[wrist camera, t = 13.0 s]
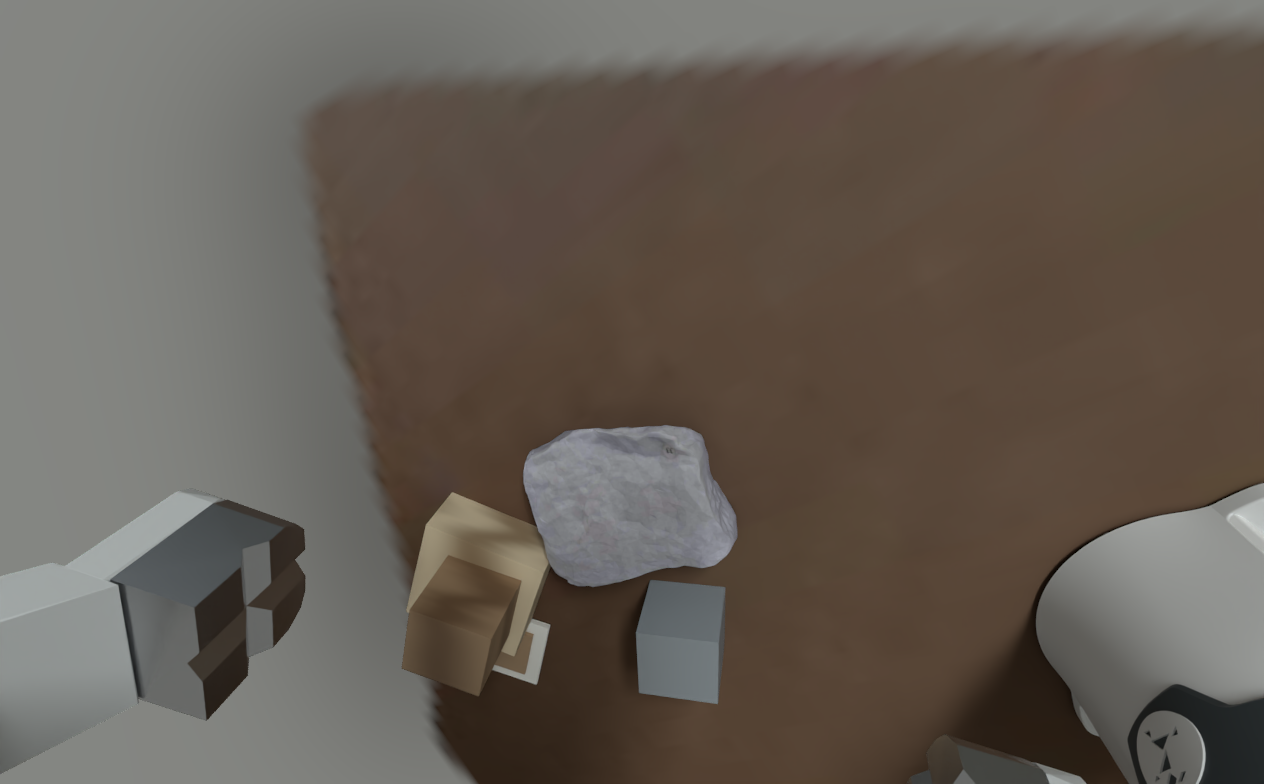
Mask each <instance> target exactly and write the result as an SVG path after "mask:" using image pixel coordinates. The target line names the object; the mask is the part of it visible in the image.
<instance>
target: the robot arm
mask: <svg viewBox="0 0 1264 784" xmlns="http://www.w3.org/2000/svg"><path fill="white" fill-rule="evenodd" d="M304 550H305V537H304V529H303V528H301V527H300V526H298V525H296V524H294V523H292V522H289V521H286V520H283V519H280V518H277V517H275V516H272V515H269V514H266V513H263V512H260V511H258V510H255V509H252V508H249V507H246V506H244V505H241V504H238V503H235V502H232V501H230V500H225V499H222V498H219V497H216V496H213V495H210V494H208V493H205V492H202V491H199V490H196V489H194V488H190V489H186V490H181V491H177V492H175V493H174V494H172V495H171V496H169V497H168V498H166V499H165V500H163V501H162V502H161V503H159V504H157V505H156V506H154V507H153V508H151V509H150V510H148V511H147V512H145V513H144V514H142V515H141V516H139V517H138V518H136V519H135V520H133V521H132V522H130V523H129V524H127V525H126V526H124V527H123V528H121V529H120V530H118V531H117V532H115V533H114V534H113V535H111V536H109V537H108V538H106V539H105V540H103V541H102V542H100V543H99V544H97V545H96V546H94V547H93V548H92V549H90V550H88V551H87V552H85V553H84V554H82V555H81V556H79V557H78V558H76V559H75V560H73V561H72V562H70V563H69V564H67V565H66V566H63V565H60V564H56V563H49V564H45V565H42V566H38V567H34V568H30V569H27V570H23V571H19V572H15V573H11V574H7V575H4V576H0V774H1V773H3V772H5V771H7V770H9V769H11V768H13V767H15V766H17V765H19V764H21V763H23V762H25V761H27V760H29V759H31V758H33V757H34V756H36V755H39V754H41V753H43V752H45V751H46V750H48V749H50V748H52V747H54V746H56V745H58V744H60V743H62V742H64V741H66V740H68V739H70V738H72V737H74V736H76V735H78V734H80V733H82V732H84V731H86V730H88V729H90V728H91V727H94V726H96V725H97V724H100V723H102V722H103V721H106V720H108V719H109V718H111V717H113V716H115V715H117V714H119V713H121V712H123V711H125V710H127V709H129V708H131V707H133V706H135V705H137V704H138V703H139V700H138V699H140V700H144V701H147V702H150V703H153V704H156V705H159V706H162V707H165V708H169V709H172V710H175V711H178V712H181V713H184V714H187V715H191V716H193V717H196V718H199V719H203V720H207V719H209V718H210V716H211V715H212V714H213V713H214V712H215V711H216V710H217V709H218V708H219V707H220V705H221V704H222V703H223V702H224V701H225V700H226V699H227V698H228V697H229V696H230V694H231V693H232V692H233V691H234V690H235V689H236V688H237V687H238V686H239V685H240V683H241V682H242V681H243V680H244V679H245V678H246V677H247V676H248V666H249V657H251V656H253V655H256V654H258V653H261V652H263V651H266V650H268V649H270V648H273V647H274V646H275V645H276V644H277V642H278V641H279V640H280V639H281V637H283V635H284V634H285V633H286V632H287V631H288V630H289V628H290V626H291V624H292V623H293V621H294V619H295V617H296V615H297V613H298V612H299V610H300V608H301V605H302V601H303V597H304V593H305V575H304V573H303V571H302V570H301V568H300V567H299V565H298V564H297V562H296V561H295V559H296V558H297V557H298V556H299V555H300V554H301V553H302V552H303V551H304ZM1036 631H1037V637H1038V641H1039V644H1040V647H1041V649H1042V651H1043V653H1044V655H1045V657H1046V658H1047V660H1048V662H1049V663H1050V664H1051V665H1052V667H1053V668H1054V669H1055V670H1056V671H1057V673H1058V674H1059V675H1060V676H1061V678H1062V679H1063V680H1064V682H1065V683H1066V684H1067V686H1068V687H1069V688H1070V690H1071V693H1072V699H1073V705H1074V708H1075V711H1076V714H1077V716H1078V717H1079V719H1080V721H1081V722H1082V724H1083V725H1084V727H1085V729H1086V730H1087V731H1088V732H1090V733H1091V734H1093V735H1096V736H1099V737H1100V738H1101V740H1102V741H1103V743H1104V745H1105V746H1106V748H1107V749H1108V751H1109V753H1110V754H1111V756H1112V757H1113V759H1114V761H1115V762H1116V764H1117V765H1118V767H1119V769H1120V770H1121V772H1122V773H1123V775H1124V777H1125V778H1126V780H1127V781H1128V783H1129V784H1264V483H1262V484H1258V485H1255V486H1252V487H1249V488H1247V489H1245V490H1242V491H1240V492H1238V493H1235V494H1233V495H1231V496H1229V497H1227V498H1225V499H1223V500H1221V501H1219V502H1217V503H1215V504H1213V505H1211V506H1207V507H1204V508H1200V509H1196V510H1191V511H1185V512H1179V513H1173V514H1167V515H1161V516H1156V517H1152V518H1148V519H1144V520H1140V521H1137V522H1134V523H1131V524H1128V525H1126V526H1123V527H1120V528H1118V529H1115V530H1113V531H1111V532H1109V533H1107V534H1105V535H1103V536H1101V537H1099V538H1097V539H1095V540H1094V541H1092V542H1090V543H1089V544H1087V545H1086V546H1084V547H1083V548H1081V549H1080V550H1079V551H1078V552H1076V553H1075V554H1074V555H1072V556H1071V557H1070V558H1069V559H1068V560H1067V561H1066V562H1065V563H1064V564H1063V565H1062V566H1061V567H1060V568H1059V569H1058V570H1057V572H1056V573H1055V574H1054V575H1053V577H1052V578H1051V579H1050V581H1049V582H1048V584H1047V586H1046V587H1045V589H1044V591H1043V593H1042V596H1041V598H1040V601H1039V605H1038V608H1037V614H1036ZM926 755H927V760H928V764H929V769H930V770H927V771H925V772H922V773H919V774H917V775H914V776H911V777H910V779H909V781H908V782H907V784H1086V783H1085V782H1084V780H1083V779H1082V778H1081V777H1079V776H1076V775H1073V774H1070V773H1067V772H1063V771H1060V770H1057V769H1054V768H1051V767H1048V766H1044V765H1041V764H1038V763H1035V762H1030V761H1028V760H1026V759H1023V758H1019V757H1016V756H1013V755H1010V754H1007V753H1004V752H1000V751H997V750H994V749H991V748H988V747H984V746H981V745H978V744H975V743H972V742H968V741H965V740H962V739H959V738H956V737H952V736H949V735H946V734H945V735H943V736H941V737H939V738H937V739H936V740H935V741H934V742H933V744H932V745H931V747H930V748H929V750H928V751H927V753H926Z"/></svg>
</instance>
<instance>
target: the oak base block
mask: <svg viewBox="0 0 1264 784" xmlns="http://www.w3.org/2000/svg"><path fill="white" fill-rule="evenodd" d="M448 555H450V556H453V557H455V558H458V559H461V560H464V561H467V562H470V563H473V564H475V565H478V566H481V567H484V568H487V569H490V570H493V571H495V572H498V573H501V574H504V575H507V576H510V577H513V578H515V579H518V580H521V586H520V590H519V594H518V599H517V603H516V607H515V611H514V616H513V620H512V624H511V629H510V633H509V636H508V638H507V640H506V642H505V644H504V646H503V648H502V650H501V651H502V652H504V653H507V654H509V655H511V656H515V654H516V652H517V650H518V648H519V645H520V643H521V641H522V639H523V637H524V635H525V633H526V630H527V628H528V626H529V624H530V622H531V620H532V617H533V615H534V612H535V609H536V606H537V604H538V601H539V598H540V595H541V592H542V590H543V587H544V584H545V581H546V578H547V576H548V573H549V570H550V567H551V565H550V564H549V561H548V558H547V554H546V550H545V545H544V540H543V538H542V536H541V534H540V533H539V531H538V528H537V527H536V526H534V525H531V524H529V523H526V522H524V521H521V520H519V519H516V518H514V517H511V516H509V515H507V514H504V513H502V512H499V511H497V510H494V509H492V508H489V507H487V506H484V505H482V504H480V503H477V502H475V501H472V500H470V499H467V498H465V497H462V496H460V495H457V494H455V493H453V492H452V493H451V494H450V495H449V497H448V498H447V499H446V500H445V502H444V503H443V504H442V505H441V507H440V508H439V509H438V510H437V512H436V513H435V514H434V515H433V517H432V518H431V519H430V520H429V522H428V523H427V524H426V527H425V532H424V536H423V540H422V545H421V549H420V553H419V558H418V562H417V566H416V571H415V575H414V579H413V584H412V588H411V592H410V597H409V601H408V605H407V610H406V612H408V613H409V610H410V608H411V607H412V606H413V604H414V603H415V601H416V600H417V598H418V597H419V596H420V594H421V593H422V591H423V590H424V589H425V587H426V586H427V584H428V583H429V581H430V580H431V579H432V577H433V576H434V574H435V573H436V572H437V570H438V569H439V567H440V566H441V564H442V563H443V562H444V560H445V559H446V557H447V556H448Z"/></svg>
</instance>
